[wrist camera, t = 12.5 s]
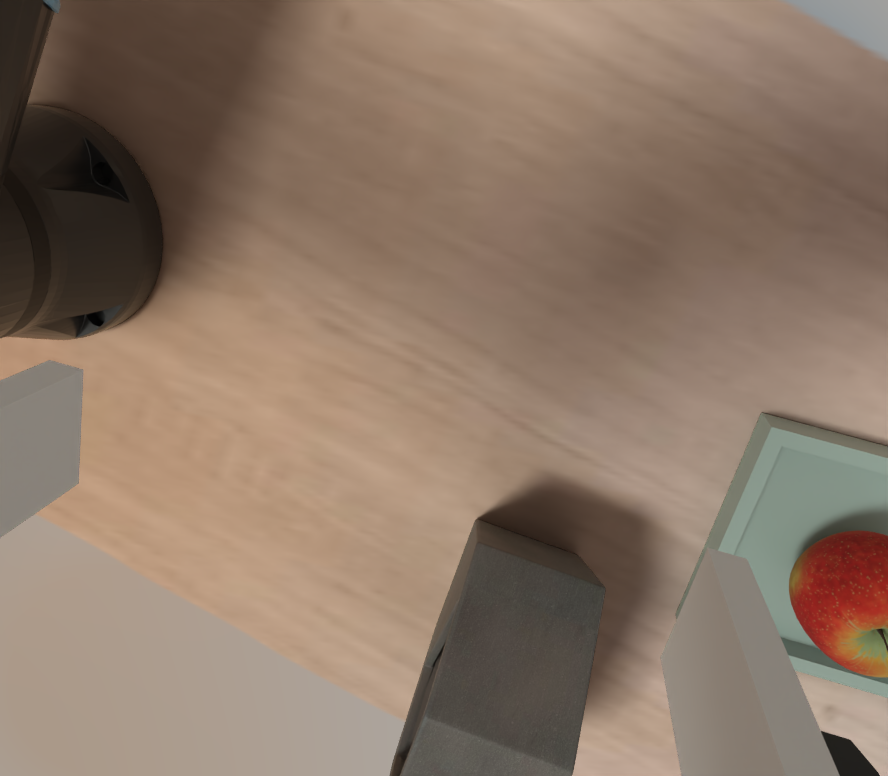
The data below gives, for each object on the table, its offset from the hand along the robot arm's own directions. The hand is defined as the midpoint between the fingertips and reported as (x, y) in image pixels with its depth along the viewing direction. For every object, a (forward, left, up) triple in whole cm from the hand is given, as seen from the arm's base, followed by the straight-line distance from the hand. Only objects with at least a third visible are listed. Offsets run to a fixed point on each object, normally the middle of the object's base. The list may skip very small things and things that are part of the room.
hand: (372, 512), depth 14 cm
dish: (+26, -13, -32) cm, 43 cm away
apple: (+26, -13, -31) cm, 43 cm away
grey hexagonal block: (+6, -24, -32) cm, 40 cm away
